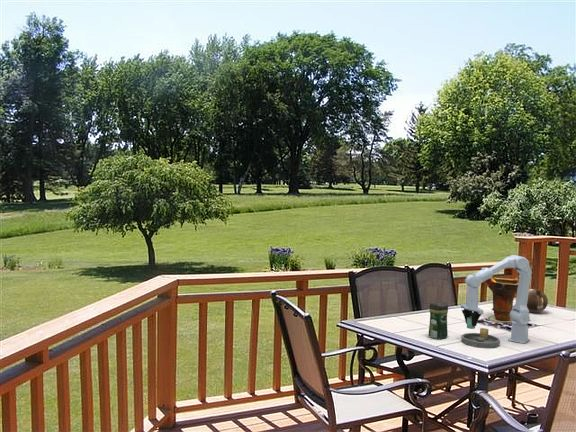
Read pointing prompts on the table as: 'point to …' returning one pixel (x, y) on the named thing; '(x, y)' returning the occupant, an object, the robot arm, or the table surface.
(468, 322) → the teal cylinder
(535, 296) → the wooden sphere
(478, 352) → the table surface
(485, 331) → the tan wooden cylinder
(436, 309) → the coffee jar
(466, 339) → the ring tray
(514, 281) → the decorative vase
